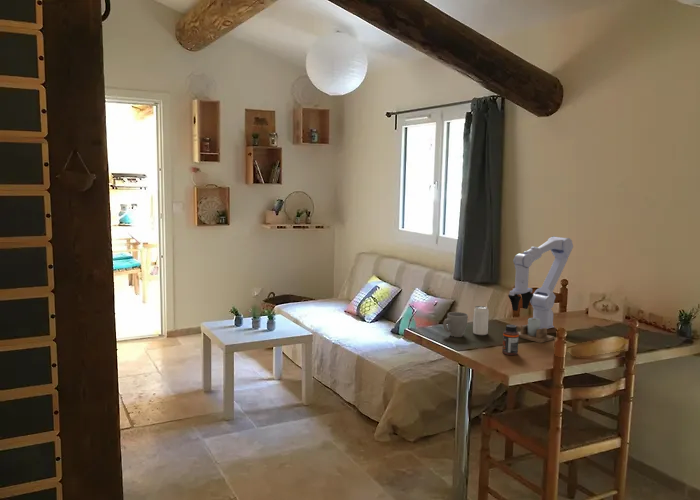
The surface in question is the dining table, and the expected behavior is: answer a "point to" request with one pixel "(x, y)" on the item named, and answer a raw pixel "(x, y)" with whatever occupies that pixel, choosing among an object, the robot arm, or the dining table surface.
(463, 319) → the mug
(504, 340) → the supplement bottle
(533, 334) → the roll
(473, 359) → the dining table surface
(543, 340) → the holder
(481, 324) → the can
